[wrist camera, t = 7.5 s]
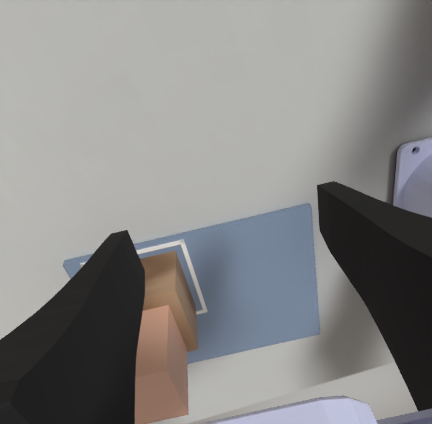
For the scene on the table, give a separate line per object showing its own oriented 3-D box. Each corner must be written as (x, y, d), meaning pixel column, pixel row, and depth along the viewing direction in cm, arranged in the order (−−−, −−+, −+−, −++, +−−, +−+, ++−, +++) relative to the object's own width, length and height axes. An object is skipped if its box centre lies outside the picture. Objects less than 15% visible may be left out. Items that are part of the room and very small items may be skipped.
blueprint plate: (308, 203, 23) (311, 207, 23) (318, 329, 31) (320, 335, 30) (64, 260, 24) (62, 266, 23) (131, 371, 31) (130, 377, 31)
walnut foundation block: (175, 250, 24) (175, 290, 20) (195, 306, 27) (198, 349, 23) (95, 269, 24) (81, 311, 20) (124, 322, 27) (117, 367, 24)
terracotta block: (168, 304, 21) (166, 370, 17) (186, 348, 23) (188, 414, 19) (100, 320, 21) (82, 389, 17) (125, 361, 23) (114, 430, 20)
